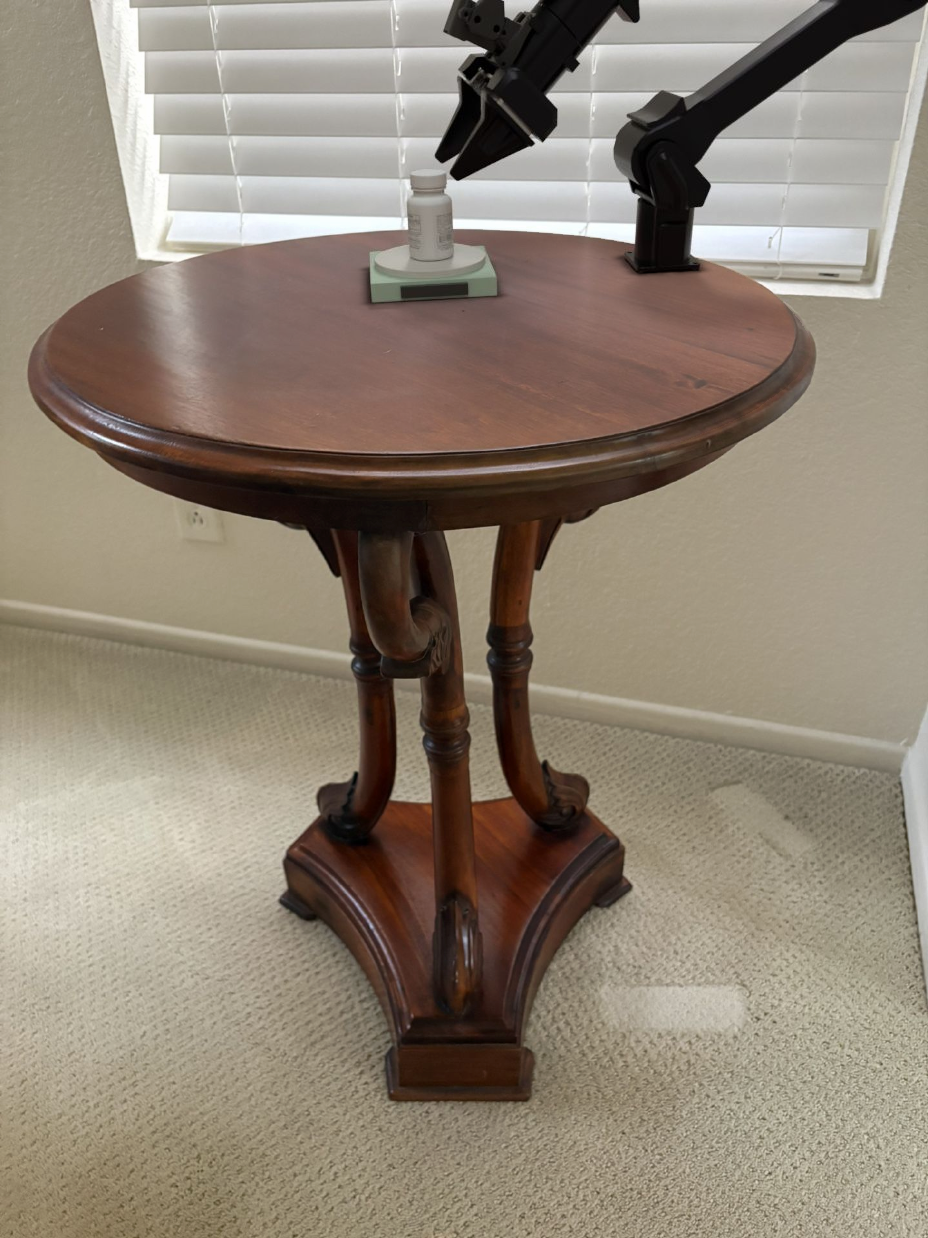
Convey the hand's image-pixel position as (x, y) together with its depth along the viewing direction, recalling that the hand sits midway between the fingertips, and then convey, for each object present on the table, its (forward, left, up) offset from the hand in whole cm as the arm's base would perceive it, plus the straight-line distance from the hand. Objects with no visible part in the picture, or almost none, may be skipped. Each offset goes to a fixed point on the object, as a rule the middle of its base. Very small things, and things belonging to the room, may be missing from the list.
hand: (445, 168), depth 95 cm
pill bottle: (0, -2, -8) cm, 8 cm away
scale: (0, -2, -10) cm, 11 cm away
